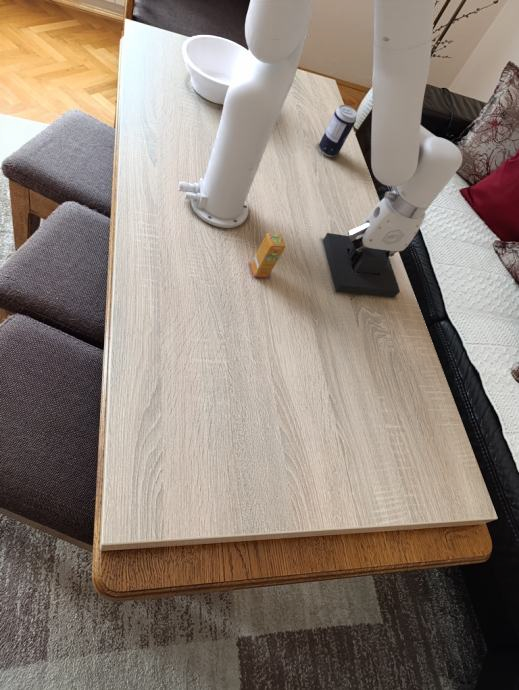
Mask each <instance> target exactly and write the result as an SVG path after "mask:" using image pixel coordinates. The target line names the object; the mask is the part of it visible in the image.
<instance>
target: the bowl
mask: <svg viewBox="0 0 519 690" xmlns="http://www.w3.org/2000/svg"><path fill="white" fill-rule="evenodd" d="M181 51H182V56H183V60H184V61H183V62H184V64H185V67H186V68H185V69H186V70H187V72H188V74H189V75H190V82H191V86H192V88H193V89H194V90H195V92H196V93H197V94H199V96H201V97H202V98H203V99H205V100H207V101H210V102H212V103H214V104H218V105H223V106H224V101H225V97H226V93H227V90H228V88H229V85H230V83H231V81H232V79H233V78H234V76H235V74H236V73H237V71H238V69H239V68H240V66H241V65H242V63H243V62H244V60H245V59H246V57H247V53H248V49H247V48H246V47H244V46H242V45H240V44H238V43H237V42H235V41H232V40H230V39H227V38H224V37H220V36H216V35H209V34H198V35H193V36H191V37H188V38H187V39H186V40H185V41H184V42H183V45H181Z"/></svg>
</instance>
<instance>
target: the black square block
mask: <svg viewBox="0 0 519 690" xmlns="http://www.w3.org/2000/svg"><path fill="white" fill-rule="evenodd" d="M361 244H363V242H361ZM353 246H354V245H353ZM353 246H352V248H353ZM352 248H351V249H352ZM351 249H350V251H351ZM350 251H349V252H350ZM387 262H388V260H387V257H386V254H385V251H384V250H380V249H373V248H368V247H367V248H365V249H364V250H363V251H362V255H361V256H360V258H359V259H358V261H357V262H356V263H355V265H352V269H353V272H357V273H366V274H377V275H378V274H379V272H380V271H381V270H382V268H383V267H384V266H385V265H386V263H387Z"/></svg>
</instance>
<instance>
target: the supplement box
mask: <svg viewBox="0 0 519 690" xmlns="http://www.w3.org/2000/svg"><path fill="white" fill-rule="evenodd" d="M285 248H286V243H285V240H284V237H283V233H270V232H269V233H268V232H267V233H266V234H265V236H264V238H263V240H262V241H261V244H260V246H259V248H258V249H257V251H256V253H255V255H254V257H253V259H252V260H251V261H252V262H251V263H250V267H251V271H252V274H253V278H268V277H269V276H270V274H271V272H272V271H273V269H274V268H275V266H276V264H277V262H278V260H279V259H280V257H281V255H282V254H283V252H284V250H285Z"/></svg>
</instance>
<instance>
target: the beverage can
mask: <svg viewBox="0 0 519 690" xmlns="http://www.w3.org/2000/svg"><path fill="white" fill-rule="evenodd" d="M357 116H358V113H357V111H356V110H355V108H353V107H351V106H350V105H348V104H341V105H339V106H338V107H337V108H335V111H334V113H333V115H332V117H331V119H330V121H329V123H328V124H327V127H326V129H325V131H324V133H323V135H322V137H321V140H320V141H319V144H318V146H319V149H320V152H321V153H322V154H323V155H324V156H327V157H328V158H329V157H331V158H332V157H335V156H338V155H339V153H340V152H341V150H342V148H343V146H344V144H345V143H346V140H347V138H348V137H349V135H350V133H351V131H352V129H353V127H354V125H355V123H356V122H357Z"/></svg>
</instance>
